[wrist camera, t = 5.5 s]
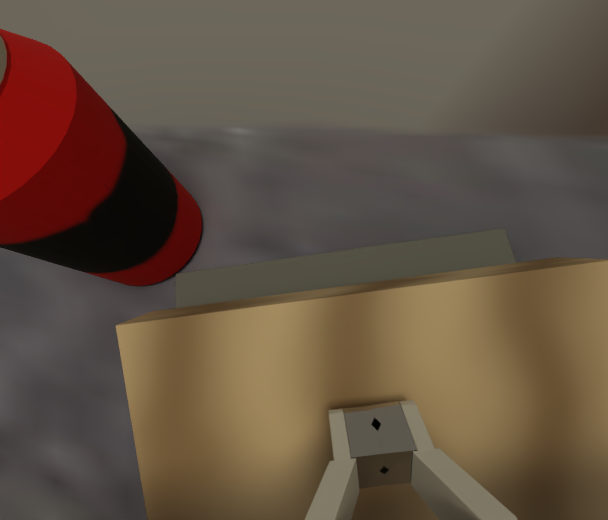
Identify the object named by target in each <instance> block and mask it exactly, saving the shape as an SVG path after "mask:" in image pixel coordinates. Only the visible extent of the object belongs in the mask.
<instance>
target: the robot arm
mask: <svg viewBox="0 0 608 520" xmlns="http://www.w3.org/2000/svg"><path fill="white" fill-rule="evenodd" d="M329 423H330V431H331V440H332V448H333V457H334V460H333V461H329V464H328V466H327V468H326V471H325V473H324V475H323V478H322V480H321V482H320V485H319V487H318V489H317V492H316V494H315V496H314V499H313V501H312V503H311V506H310V508H309V510H308V513H307V515H306V517H305V520H351V519H352V515H353V512H354V508H355V505H356V501H357V498H358V495H359V489H362V488H369V487H376V486H383V485H394V484H407V483H411V485H412V487H413V488H414V489H415V490H416V492H417V493H418V494H419V495H420V496H421V498H422V499H423V500H424V501H425V502H426V504H427V505H428V506H429V507H430V508H431V510H432V511H433V512H434V513H435V515H436V516H437V517H438V518H439V519H440V520H517V518H516V516H515V515H514V514H513V513H511V512H510V511H509V510H508V509H507V508H506V507H505V506H504V505H502V504H501V503H500V502H499V501H498V500H497V499H496V498H495V497H494V496H492V495H491V494H490V493H489V492H488V491H487V490H486V489H485V488H483V487H482V486H481V485H480V484H479V483H478V482H477V481H476V480H474V479H473V478H472V477H471V476H470V475H469V474H468V473H467V472H466V471H464V470H463V469H462V468H461V467H460V466H459V465H458V464H457V463H455V462H454V461H453V460H452V459H451V458H450V457H449V456H448V455H446V454H445V453H444V452H443V451H442V450H441V449H440V448H438V449H435V447H434V445H433V443H432V440H431V438H430V436H429V433H428V431H427V428H426V426H425V424H424V421H423V419H422V417H421V414H420V412H419V410H418V407H417V405H416V403H415V402H414V400H407V401H400V402H398V401H396V402H389V403H382V404H375V405H370V406H361V407H352V408H341V409H334V410H329Z"/></svg>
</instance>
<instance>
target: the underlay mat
mask: <svg viewBox="0 0 608 520" xmlns="http://www.w3.org/2000/svg"><path fill="white" fill-rule="evenodd" d="M511 263H516V261H515V258H514V255H513V252H512V249H511V246H510V243H509V240H508V237H507V235H506V232H505V229H504V228H503V229H495V230H488V231H481V232H474V233H467V234H459V235H452V236H445V237H438V238H431V239H423V240H416V241H409V242H402V243H395V244H387V245H380V246H373V247H366V248H359V249H351V250H344V251H337V252H330V253H323V254H315V255H308V256H301V257H294V258H287V259H279V260H272V261H265V262H258V263H251V264H243V265H236V266H229V267H222V268H215V269H207V270H200V271H193V272H186V273H179V274H176V308H182V307H189V306H197V305H204V304H212V303H219V302H227V301H234V300H242V299H249V298H257V297H264V296H272V295H279V294H287V293H294V292H302V291H309V290H317V289H324V288H332V287H339V286H347V285H354V284H362V283H369V282H377V281H384V280H392V279H399V278H407V277H414V276H422V275H429V274H437V273H444V272H452V271H459V270H467V269H474V268H482V267H489V266H496V265H504V264H511Z"/></svg>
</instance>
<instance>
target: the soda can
mask: <svg viewBox="0 0 608 520" xmlns="http://www.w3.org/2000/svg"><path fill="white" fill-rule="evenodd" d="M201 231H202V218H201V213H200V209H199V207H198V205H197V203H196V201H195V200H194V198H193V197H192V196H191V195H190V194H189V192H188V191H187V190H186V189H185V188H184V187H183V186H182V185H181V184H180V183H179V182H178V180H177V179H176V178H175V177H174V176H173V175H172V174H171V173H170V172H169V171H168V170H167V169H166V167H165V166H164V165H163V164H162V163H161V162H160V161H159V160H158V159H157V158H156V157H155V156H154V154H153V153H152V152H151V151H150V150H149V149H148V148H147V147H146V146H145V145H144V144H143V143H142V141H141V140H140V139H139V138H138V137H137V136H136V135H135V134H134V133H133V132H132V131H131V129H130V128H129V127H128V126H127V125H126V124H125V123H124V122H123V121H122V120H121V119H120V118H119V117H118V115H117V114H116V113H115V112H114V111H113V110H112V109H111V108H110V107H109V106H108V105H107V103H106V102H105V101H104V100H103V99H102V98H101V97H100V96H99V95H98V94H97V93H96V92H95V91H94V89H93V88H92V87H91V86H90V85H89V84H88V83H87V82H86V81H85V80H84V78H83V77H82V76H81V75H80V74H79V73H78V72H77V71H76V70H75V69H74V68H73V67H72V65H71V64H70V63H69V62H68V61H67V60H66V59H65V58H64V57H63V56H62V55H61V54H60V53H59V52H57V51H56V50H55V49H53V48H52V47H50V46H48V45H46V44H43V43H41V42H38V41H36V40H33V39H30V38H27V37H23V36H20V35H17V34H14V33H11V32H8V31H5V30H2V29H0V247H1V248H4V249H8V250H11V251H15V252H18V253H21V254H25V255H28V256H31V257H35V258H38V259H42V260H45V261H48V262H52V263H55V264H58V265H62V266H65V267H69V268H72V269H75V270H79V271H82V272H85V273H89V274H92V275H96V276H99V277H102V278H106V279H109V280H112V281H116V282H119V283H123V284H126V285H133V286H144V285H151V284H154V283H157V282H160V281H162V280H164V279H166V278H168V277H170V276H172V275H173V274H174V273H176V272H177V271H178V270H180V269H181V268H182V267H183V266H184V265H185V264H186V263H187V261H188V260H189V259H190V258H191V256H192V254H193V253H194V251H195V250H196V247H197V245H198V242H199V240H200V235H201Z"/></svg>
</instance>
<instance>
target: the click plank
mask: <svg viewBox="0 0 608 520" xmlns="http://www.w3.org/2000/svg"><path fill="white" fill-rule="evenodd" d="M116 330H117V336H118V342H119V349H120V355H121V361H122V367H123V373H124V379H125V385H126V391H127V397H128V404H129V410H130V416H131V422H132V428H133V434H134V440H135V446H136V452H137V459H138V465H139V471H140V477H141V483H142V489H143V495H144V501H145V507H146V513H147V520H305V517H306V515H307V513H308V510H309V508H310V506H311V503H312V501H313V499H314V496H315V494H316V492H317V489H318V487H319V485H320V482H321V480H322V478H323V475H324V473H325V471H326V468H327V466H328V464H329V461H333V460H334V457H333V448H332V440H331V431H330V423H329V410H334V409H341V408H352V407H361V406H370V405H375V404H382V403H389V402H396V401H398V402H400V401H407V400H414V402H415V403H416V405H417V407H418V410H419V412H420V414H421V417H422V419H423V421H424V424H425V426H426V428H427V431H428V433H429V436H430V438H431V440H432V443H433V445H434V447H435V449H438V448H440V449H441V450H442V451H443V452H444V453H445V454H446V455H448V456H449V457H450V458H451V459H452V460H453V461H454V462H455V463H457V464H458V465H459V466H460V467H461V468H462V469H463V470H464V471H466V472H467V473H468V474H469V475H470V476H471V477H472V478H473V479H474V480H476V481H477V482H478V483H479V484H480V485H481V486H482V487H483V488H485V489H486V490H487V491H488V492H489V493H490V494H491V495H492V496H494V497H495V498H496V499H497V500H498V501H499V502H500V503H501V504H502V505H504V506H505V507H506V508H507V509H508V510H509V511H510V512H511V513H513V514H514V515H515V516H516V518H517V520H608V259H584V258H558V257H556V258H549V259H541V260H534V261H526V262H519V263H511V264H504V265H496V266H489V267H482V268H474V269H467V270H459V271H452V272H444V273H437V274H429V275H422V276H414V277H407V278H399V279H392V280H384V281H377V282H369V283H362V284H354V285H347V286H339V287H332V288H324V289H317V290H309V291H302V292H294V293H287V294H279V295H272V296H264V297H257V298H249V299H242V300H234V301H227V302H219V303H212V304H204V305H197V306H189V307H182V308H174V309H167V310H159V311H152V312H149V313H147V314H144V315H141V316H139V317H136V318H134V319H131V320H129V321H126V322H123V323H121V324H118V325H116ZM351 520H440V519H439V518H438V517H437V516H436V515H435V513H434V512H433V511H432V510H431V508H430V507H429V506H428V505H427V504H426V502H425V501H424V500H423V499H422V498H421V496H420V495H419V494H418V493H417V492H416V490H415V489H414V488H413V487H412V485H411V483H407V484H394V485H383V486H376V487H369V488H362V489H359V495H358V498H357V501H356V505H355V508H354V512H353V515H352V519H351Z"/></svg>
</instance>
